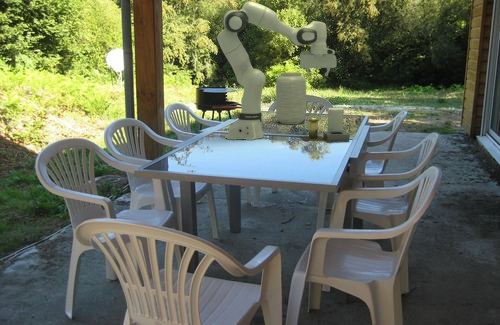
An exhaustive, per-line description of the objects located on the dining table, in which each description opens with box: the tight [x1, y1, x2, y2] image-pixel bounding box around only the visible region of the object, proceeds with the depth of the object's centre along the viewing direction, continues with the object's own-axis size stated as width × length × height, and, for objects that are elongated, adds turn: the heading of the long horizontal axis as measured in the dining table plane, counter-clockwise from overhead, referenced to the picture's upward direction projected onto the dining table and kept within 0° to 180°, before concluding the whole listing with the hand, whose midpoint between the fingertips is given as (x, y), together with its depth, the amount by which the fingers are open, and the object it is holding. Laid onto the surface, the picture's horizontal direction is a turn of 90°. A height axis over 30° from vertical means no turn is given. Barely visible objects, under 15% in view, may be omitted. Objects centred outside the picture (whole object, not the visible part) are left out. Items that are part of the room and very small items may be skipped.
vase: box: [275, 71, 307, 125], centre depth 334 cm, size 20×20×34 cm
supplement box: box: [327, 107, 345, 131], centre depth 293 cm, size 9×9×15 cm
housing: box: [322, 130, 350, 143], centre depth 273 cm, size 12×12×4 cm
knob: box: [307, 116, 320, 139], centre depth 278 cm, size 6×6×11 cm
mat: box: [300, 135, 325, 142], centre depth 279 cm, size 12×12×1 cm
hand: (318, 76), depth 280 cm, fingers open, 8 cm apart
